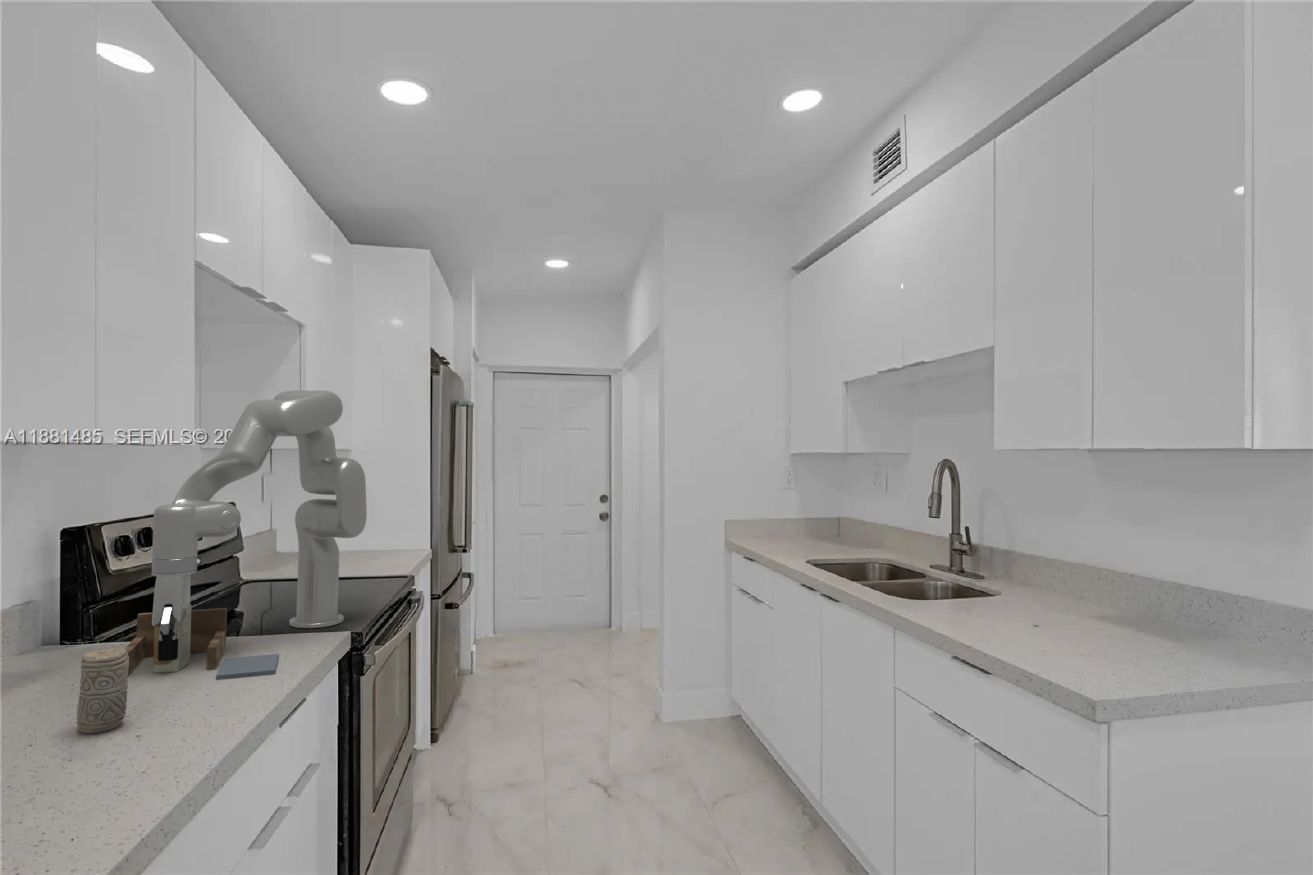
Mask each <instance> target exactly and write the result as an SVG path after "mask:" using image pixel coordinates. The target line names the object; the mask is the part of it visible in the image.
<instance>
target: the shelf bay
mask: <svg viewBox="0 0 1313 875" xmlns="http://www.w3.org/2000/svg"><path fill="white" fill-rule="evenodd" d="M152 614H153V612H142V613H138V614H137V617H136V619H137V620H136V621H137V622H136V637H134V638H133V639H132V640H131V641H130V643H128V645H126V646H125V647H124V649H126V651H127V652H128V656H129V668H128V677H129V676H130V675H131V674H132V672H133V671H134V670H135V669H136V668H137V667H138V666H139V664H140V663H141V662H142V661H143V660H144V658H151V657H152V658H154V626H152ZM227 615H228V608H227V607H221V608H220V607H219V608H206V609H205V608H204V609H191V641H190V654H201V653H202V654H203V653H206V671H211V670H216V669H217V667H218V665H219V664H220V663H219V662H220V661H221V659H222V657H223V654H224V653H225V651H226V646H227V644H226V643H227V623H228V622H227V621H228V620H227V619H228V617H227Z"/></svg>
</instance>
